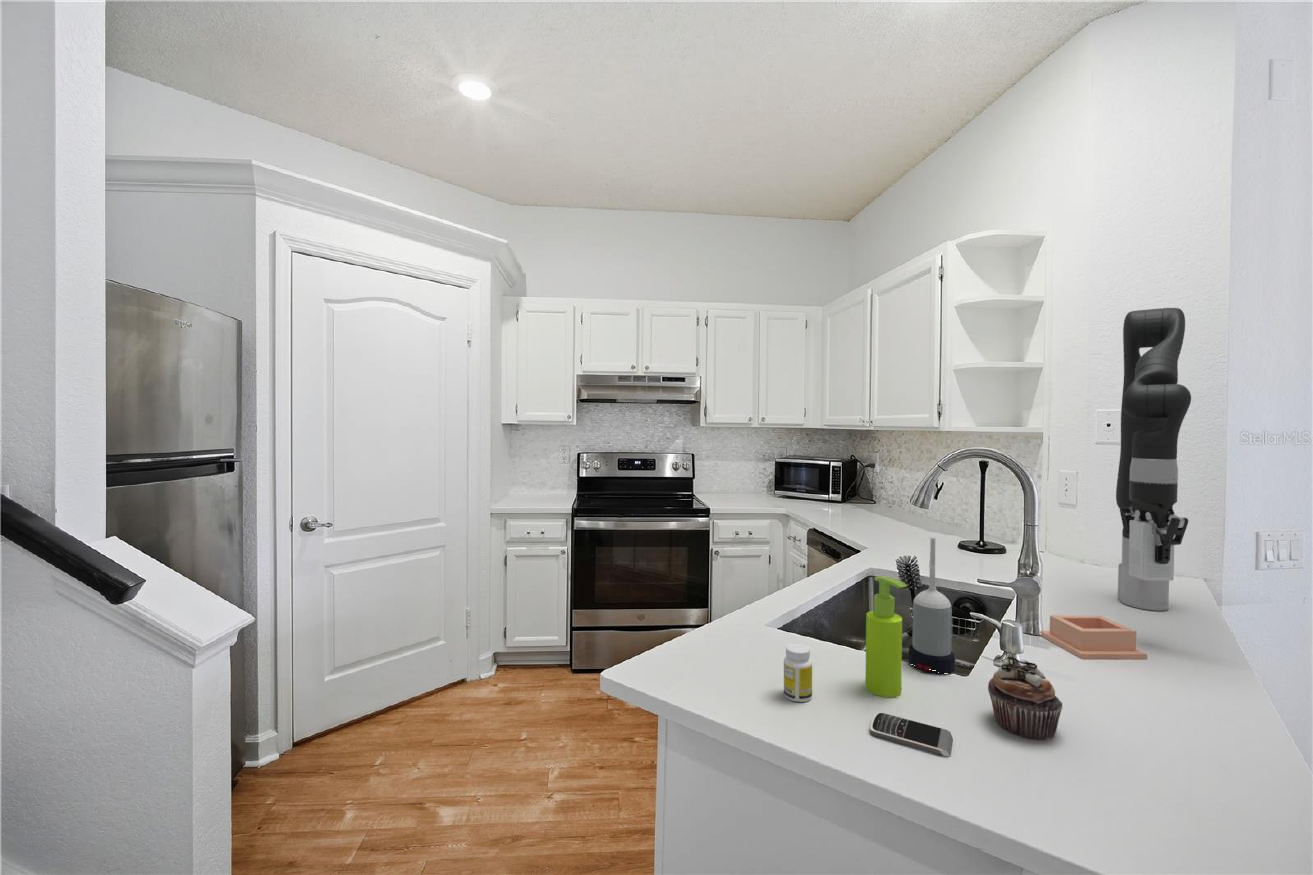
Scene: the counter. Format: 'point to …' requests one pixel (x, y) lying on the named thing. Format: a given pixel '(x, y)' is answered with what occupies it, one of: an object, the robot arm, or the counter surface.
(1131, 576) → the robot arm
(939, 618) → the grey toilet brush
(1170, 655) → the counter surface
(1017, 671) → the cupcake
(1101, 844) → the counter surface
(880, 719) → the cell phone
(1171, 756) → the counter surface
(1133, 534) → the skincare box
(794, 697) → the supplement bottle
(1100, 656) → the tan open box
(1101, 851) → the counter surface
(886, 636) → the soap dispenser
